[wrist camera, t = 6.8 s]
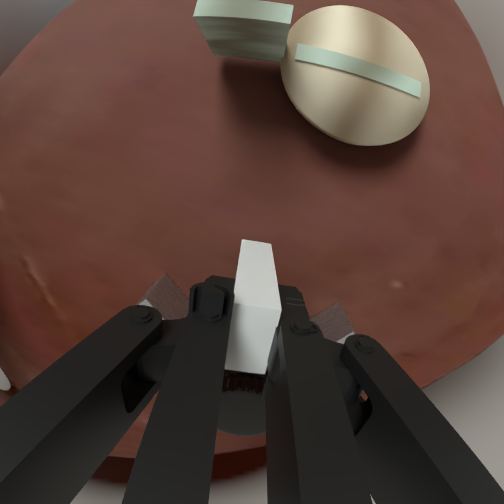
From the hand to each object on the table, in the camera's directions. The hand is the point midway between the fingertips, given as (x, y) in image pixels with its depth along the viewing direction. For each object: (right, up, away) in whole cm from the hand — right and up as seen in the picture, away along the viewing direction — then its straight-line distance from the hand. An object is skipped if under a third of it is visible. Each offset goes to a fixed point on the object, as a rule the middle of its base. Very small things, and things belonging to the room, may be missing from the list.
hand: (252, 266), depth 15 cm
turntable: (+6, +15, +2) cm, 16 cm away
